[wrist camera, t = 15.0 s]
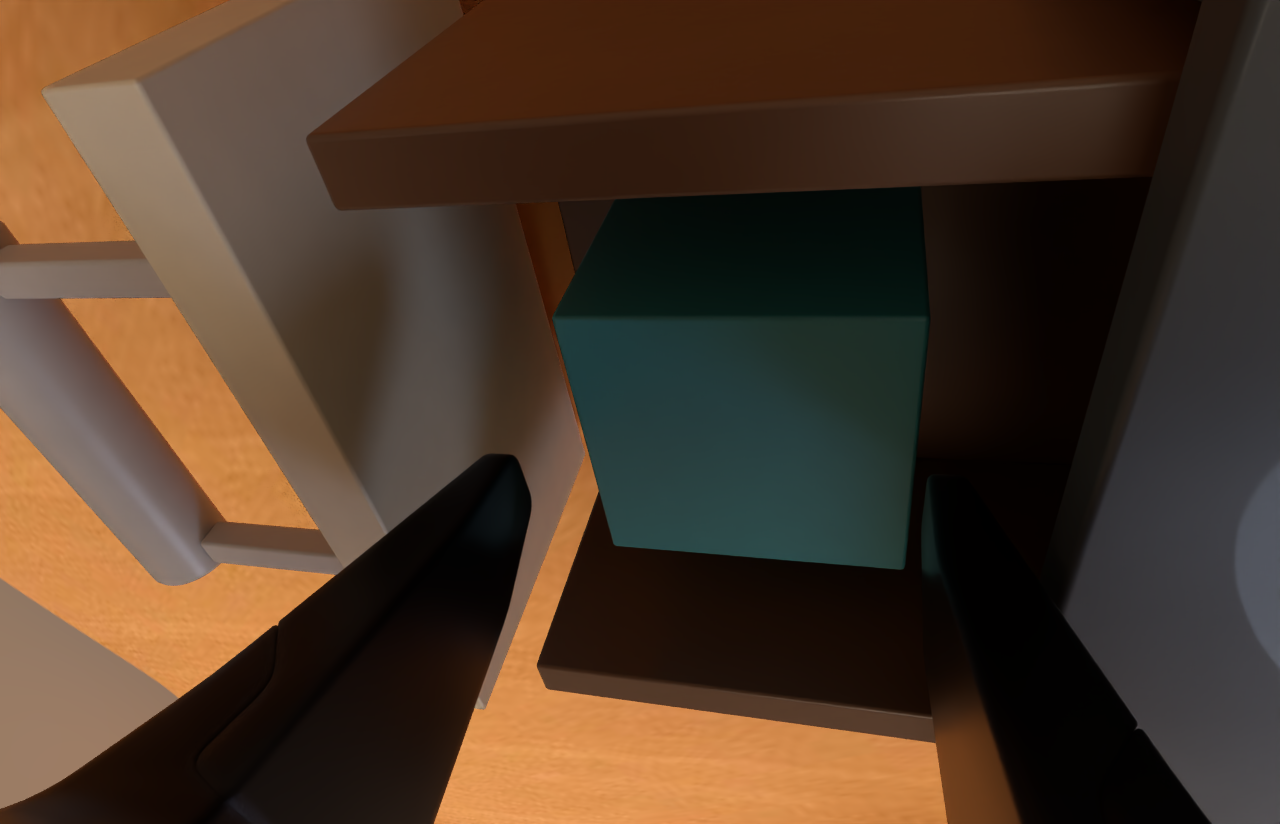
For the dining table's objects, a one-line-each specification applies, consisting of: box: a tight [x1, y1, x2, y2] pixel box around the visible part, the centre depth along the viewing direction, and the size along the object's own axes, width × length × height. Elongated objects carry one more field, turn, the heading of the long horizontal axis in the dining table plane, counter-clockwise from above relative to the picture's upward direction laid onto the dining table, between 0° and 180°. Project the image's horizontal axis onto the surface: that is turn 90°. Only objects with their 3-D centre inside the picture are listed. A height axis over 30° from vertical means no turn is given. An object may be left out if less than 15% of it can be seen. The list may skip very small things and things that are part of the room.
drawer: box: [0, 0, 1202, 743], centre depth 13 cm, size 19×11×7 cm, turn 99°
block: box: [552, 186, 931, 570], centre depth 12 cm, size 4×4×4 cm
